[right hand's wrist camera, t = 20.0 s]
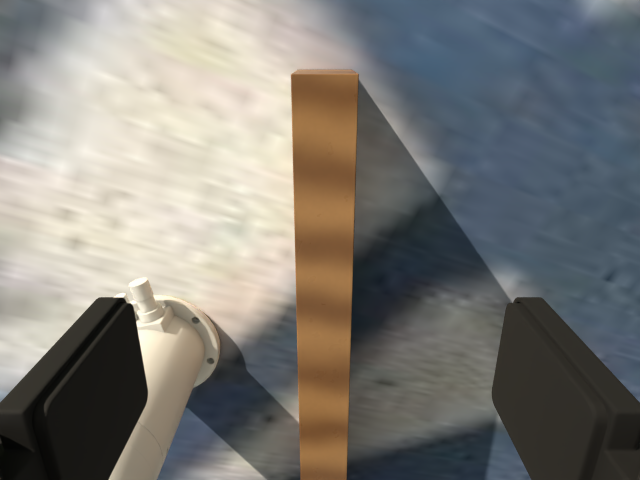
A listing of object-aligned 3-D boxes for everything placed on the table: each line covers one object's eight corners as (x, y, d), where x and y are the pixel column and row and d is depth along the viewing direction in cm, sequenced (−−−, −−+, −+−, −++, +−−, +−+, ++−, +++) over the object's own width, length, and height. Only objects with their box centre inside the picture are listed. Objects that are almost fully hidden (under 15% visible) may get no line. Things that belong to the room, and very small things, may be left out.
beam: (297, 69, 41) (290, 73, 33) (352, 69, 41) (358, 73, 33) (307, 611, 71) (305, 679, 64) (339, 611, 71) (340, 680, 63)
